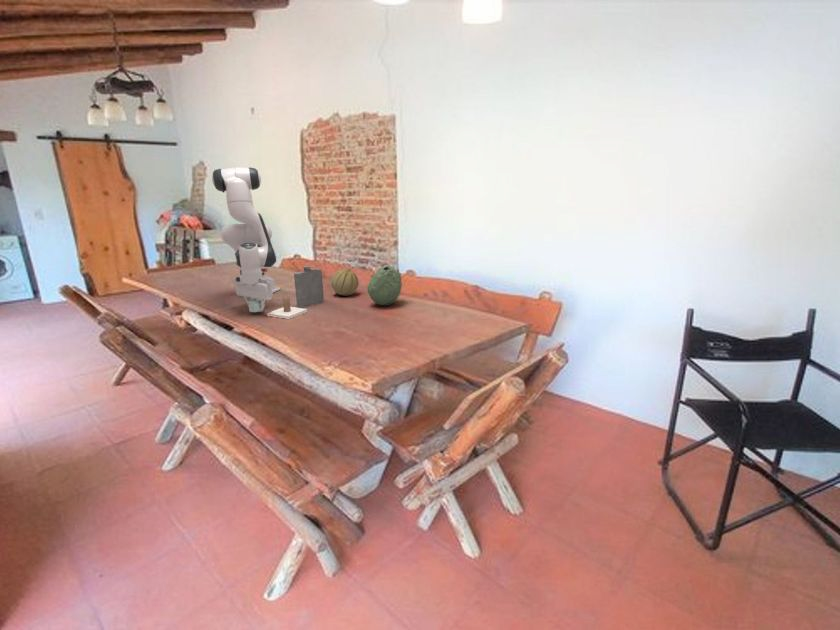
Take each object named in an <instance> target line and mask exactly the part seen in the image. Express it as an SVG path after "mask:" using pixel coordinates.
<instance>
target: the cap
mask: <svg viewBox="0 0 840 630" xmlns="http://www.w3.org/2000/svg"><path fill="white" fill-rule="evenodd" d="M248 304H249V305H248V309H249V310H248V311H249V312H250V313H258V312H259V313H261V312H262V311H264V310H265V309H264V308H265V307H263V308H261V307H260V305H259V304H261V301H260V299H258V298H251V299H250V300H249V301H248Z"/></svg>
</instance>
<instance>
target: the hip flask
mask: <svg viewBox="0 0 840 630" xmlns="http://www.w3.org/2000/svg"><path fill="white" fill-rule="evenodd" d="M302 268H303V270H301V271H297V272H294V273H293V277H294V287H295V288H294V289H295V298H296V308H303V309H304V308H306V307H309V306H313V305H316V304H323V303H324V302H325V297H324V285H323V284H324V283H323V274H322V272H323V270H322V268H311V265H304V266H303V267H302Z"/></svg>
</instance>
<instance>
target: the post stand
mask: <svg viewBox="0 0 840 630" xmlns="http://www.w3.org/2000/svg"><path fill="white" fill-rule="evenodd" d="M282 305H283V306H282V307H280V308H277V309H275V310H272V311H270V312H267V313H266V314H267V317H270V316H273V317H272V318H276V317H279V318H278V319H282V318H286V319H285V320H288V319H289V320H291V319H290V318H292V319H294V318H296V316H297V317H299V316H301V315H303V313H304V314H305V313H308V309H307V308H304V307H303V308H297V306H291V299H290V295H289V296H288V295H284V296H282ZM298 315H299V316H298ZM293 317H294V318H293Z"/></svg>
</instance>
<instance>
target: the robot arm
mask: <svg viewBox="0 0 840 630" xmlns="http://www.w3.org/2000/svg"><path fill="white" fill-rule="evenodd" d="M211 182H212V184H213V186H214V188H215V189H216V190H217V191H219V192H222V193H224V194H225V193H226V194H225V195H226V196H225V197H226V205H227V209H228V212H229V215H230V216H231V218H232V219H234V220H235V221H236V222H239V223H231V224H226V225H224V226H222V228H221V231H220V237H221V240H222V241H223V242H224V243H225V244H226V245H228V246H229V247H230V248H232V249H233V250H234V252H235V253H234V256H235V260H236V266H238V267H239V268H240V269H239V275H237V276H234V279H233V280H234V282H235V283H234V286H235V287H234V288H235V293H236V296H238V297H239V296H240V297H244V299H245V302H246V305H247V306H249V304H248V301H249V300H251V299H260V301H261V304H259V305H260V307H261V308H265V306H266V305H265V303H266V301H268V300H271V299H273V297H274V294H273V293H276V292H278V291H280V290H281V288H280V287H278V286H276V282H275V280H274V279H273V278H272V277H270V276H268V275H266V273H267V272H268V270H269V269H268V268H272V267H273V266H274V265H275V264H276V262H277V254H276V252H275V250H274V247H273V245H272V241H271V239H272V235H273V234H272V230H271V227H270V226H269V225H268V224H267V223H265V221H264V219H263V216H262V215H261V213H259V212H257V211H256V210H255V206H254V203H253V197H252V192H251V190H252V191H254V190H257V189H259V188H260V186H261V183H262V179H261V175H260V172H259V170H258V169H257V168H254V167H242V166H241V167H240V166H239V167H237V166H236V167H228V168H218V169H214V170H213V172H212V175H211ZM260 244H262V245H261V246H258V245H260ZM265 272H266V273H265ZM250 298H251V299H250Z"/></svg>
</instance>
